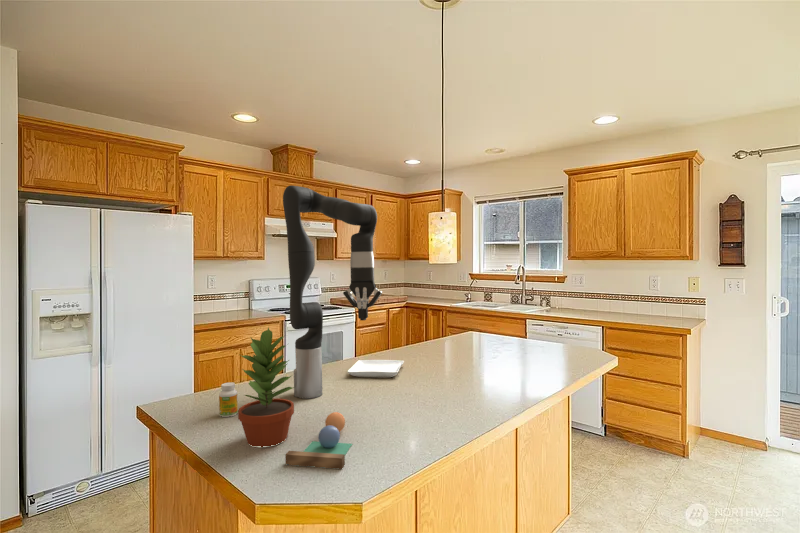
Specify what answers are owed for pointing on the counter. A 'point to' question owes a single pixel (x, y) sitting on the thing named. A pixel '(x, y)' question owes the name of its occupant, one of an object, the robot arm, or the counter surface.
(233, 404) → the supplement bottle
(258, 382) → the potted plant
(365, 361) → the salad plate
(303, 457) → the stopper wall
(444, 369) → the counter surface
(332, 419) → the orange ball
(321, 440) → the object ball
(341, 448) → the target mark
